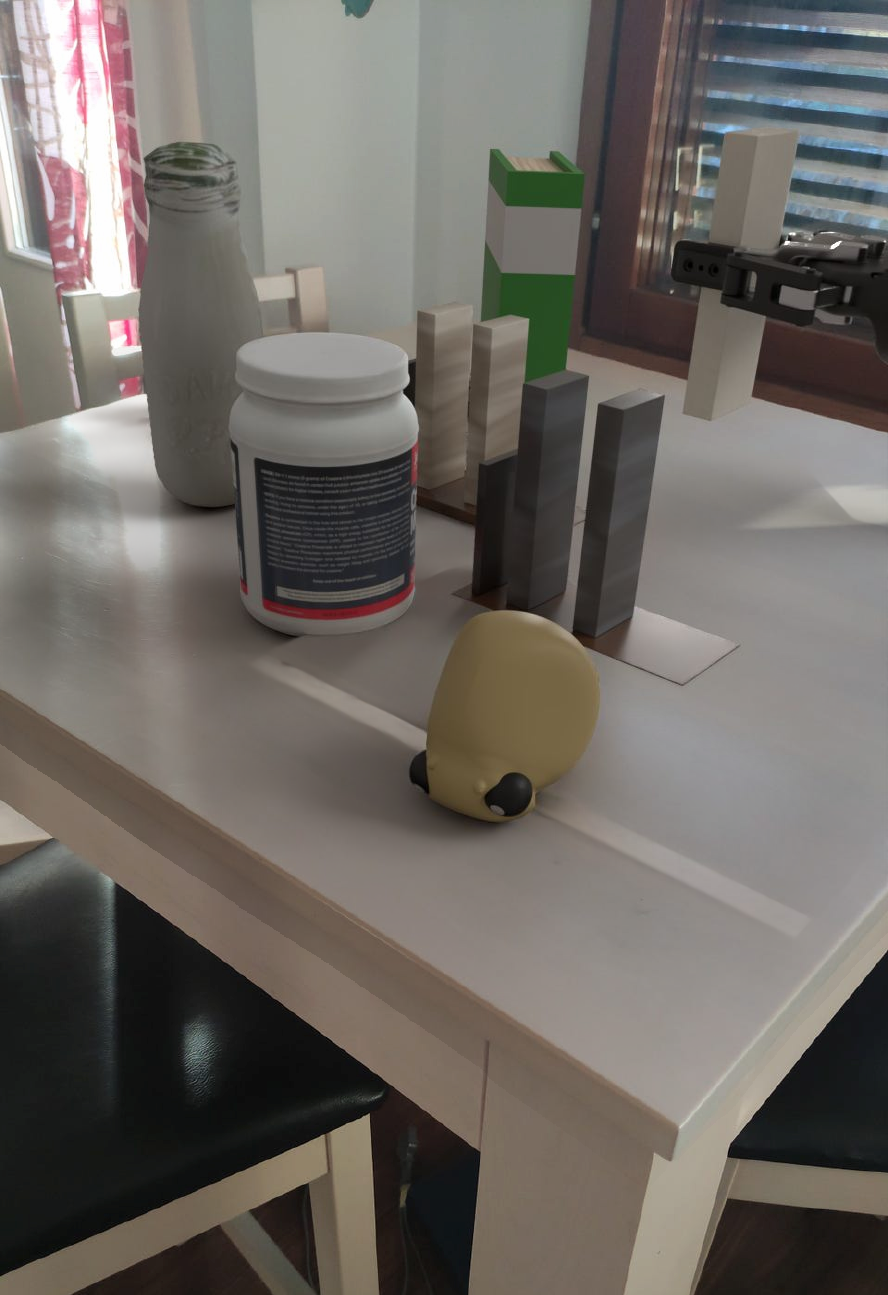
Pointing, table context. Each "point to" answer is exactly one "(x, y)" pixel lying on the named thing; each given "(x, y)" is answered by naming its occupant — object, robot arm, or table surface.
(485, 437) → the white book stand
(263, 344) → the supplement tub
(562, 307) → the hardback book
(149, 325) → the glass bottle
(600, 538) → the grey book stand
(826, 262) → the robot arm
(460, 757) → the yellow toy with eyes
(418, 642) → the table surface
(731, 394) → the beige rectangular block
